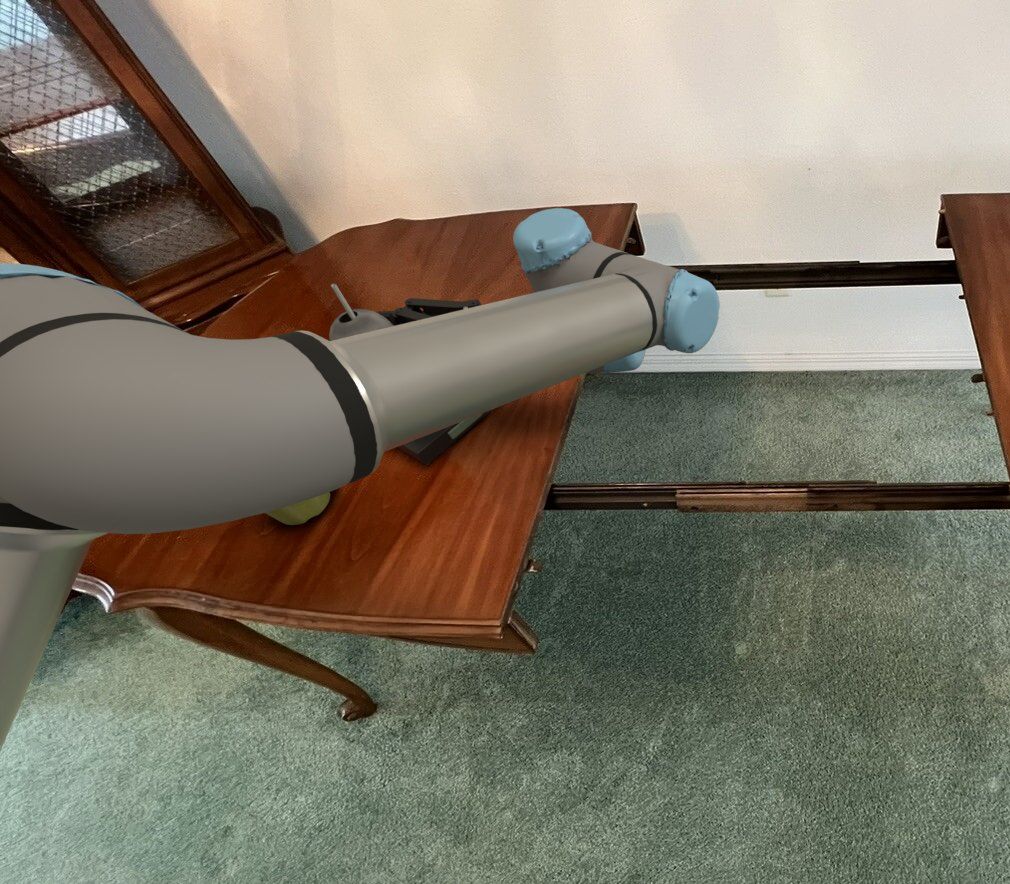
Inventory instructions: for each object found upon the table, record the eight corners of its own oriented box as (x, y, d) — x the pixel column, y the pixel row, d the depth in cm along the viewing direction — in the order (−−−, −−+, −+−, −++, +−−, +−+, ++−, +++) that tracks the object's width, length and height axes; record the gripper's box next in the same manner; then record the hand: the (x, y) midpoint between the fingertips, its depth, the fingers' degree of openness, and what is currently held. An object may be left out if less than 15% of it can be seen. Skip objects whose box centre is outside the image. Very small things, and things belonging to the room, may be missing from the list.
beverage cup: (404, 385, 92) (313, 263, 76) (453, 388, 91) (371, 265, 75) (376, 425, 87) (273, 304, 72) (427, 429, 86) (334, 307, 71)
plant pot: (323, 537, 80) (275, 496, 73) (249, 539, 81) (194, 498, 74) (357, 474, 86) (315, 431, 79) (288, 476, 87) (240, 433, 80)
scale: (428, 466, 86) (416, 452, 84) (358, 423, 92) (344, 408, 90) (509, 397, 93) (500, 382, 91) (439, 361, 99) (429, 345, 97)
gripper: (498, 427, 76) (308, 429, 77) (547, 311, 88) (383, 315, 90) (469, 380, 70) (264, 384, 72) (526, 264, 83) (351, 269, 84)
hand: (330, 346), depth 81 cm, fingers closed on beverage cup, 7 cm apart
